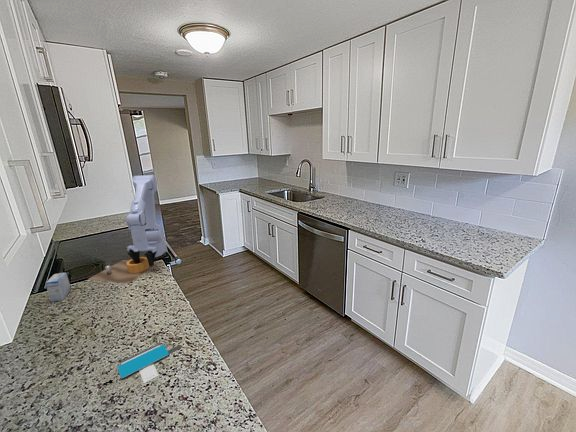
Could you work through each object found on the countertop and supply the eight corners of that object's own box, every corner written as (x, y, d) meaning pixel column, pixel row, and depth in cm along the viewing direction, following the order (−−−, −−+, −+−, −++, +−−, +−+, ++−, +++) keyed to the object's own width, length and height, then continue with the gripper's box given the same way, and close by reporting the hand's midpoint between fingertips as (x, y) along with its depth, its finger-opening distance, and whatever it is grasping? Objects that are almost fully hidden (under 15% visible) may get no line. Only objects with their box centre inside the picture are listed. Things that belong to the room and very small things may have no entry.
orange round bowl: (138, 263, 133) (136, 256, 132) (153, 265, 131) (152, 257, 130) (123, 272, 125) (121, 264, 124) (140, 273, 123) (138, 266, 122)
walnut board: (123, 262, 139) (122, 259, 138) (159, 265, 134) (159, 262, 133) (88, 282, 120) (87, 279, 120) (129, 286, 115) (128, 283, 115)
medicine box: (59, 292, 113) (53, 273, 110) (71, 289, 114) (66, 271, 112) (50, 302, 106) (44, 283, 103) (64, 299, 107) (58, 280, 105)
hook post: (109, 272, 125) (107, 265, 124) (113, 273, 125) (111, 265, 123) (106, 274, 123) (104, 267, 122) (109, 275, 123) (107, 267, 122)
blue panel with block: (107, 406, 64) (105, 400, 63) (100, 374, 72) (99, 369, 72) (189, 360, 76) (188, 356, 75) (175, 338, 85) (174, 334, 84)
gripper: (119, 240, 121) (125, 267, 124) (146, 242, 118) (152, 269, 121) (131, 235, 127) (136, 261, 131) (157, 236, 124) (162, 263, 128)
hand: (144, 264), depth 127 cm, fingers open, 7 cm apart
